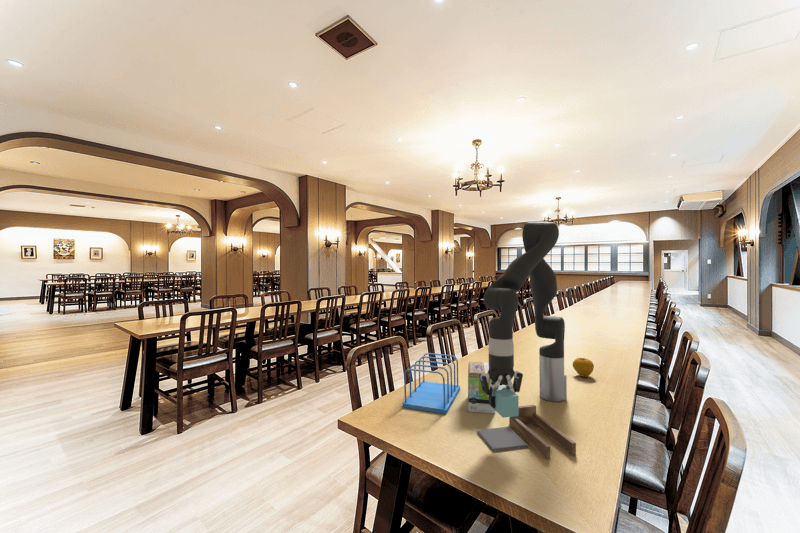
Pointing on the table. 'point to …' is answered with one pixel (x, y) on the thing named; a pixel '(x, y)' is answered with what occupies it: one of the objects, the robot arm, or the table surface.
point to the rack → (530, 417)
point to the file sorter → (432, 389)
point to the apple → (583, 366)
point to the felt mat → (501, 439)
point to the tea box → (478, 388)
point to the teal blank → (506, 402)
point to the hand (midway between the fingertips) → (501, 405)
